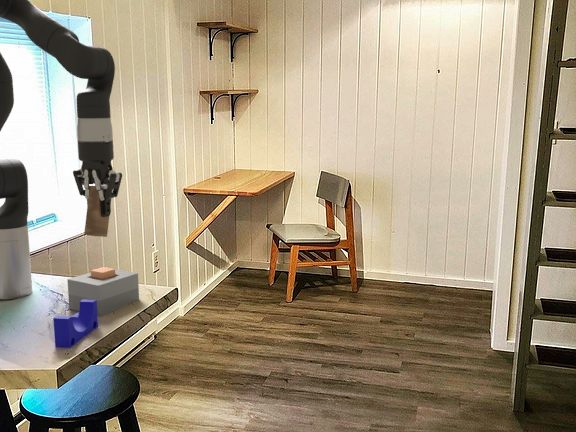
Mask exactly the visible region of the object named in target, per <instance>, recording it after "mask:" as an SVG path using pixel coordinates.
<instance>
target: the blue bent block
mask: <svg viewBox="0 0 576 432" xmlns="http://www.w3.org/2000/svg"><path fill="white" fill-rule="evenodd" d="M98 317H99V316H98V315H97V300H87V299H83V300H81V301H80V309H79V311H78V312H77V313H75V314H73V315H72V316H71V315H70V316H68V315H56V316H54V317H53V331H54V332H53V333H54V335H53V336H54V347H55V348H61V349H62V348H65V349H71V348H72V347H73V346H75V345H76V344H77V343H78V342H80V341H82V340H83V339H84V338H86V336H88V335H89V334H90V333H92V332H93V331H94V330H96V329H97V328H98V327H99V321H98V320H99V319H98Z"/></svg>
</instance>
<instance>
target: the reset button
mask: <svg viewBox="0 0 576 432" xmlns="http://www.w3.org/2000/svg"><path fill="white" fill-rule="evenodd" d="M115 269H116V268H113V269H112V267H106V266H105V267H104V266H103V267H99V268H95V269H91V270H90V273H91V277H94V278H98V280H105V279H109V278H108V277H112V276H115Z"/></svg>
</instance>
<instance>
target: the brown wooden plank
mask: <svg viewBox="0 0 576 432" xmlns="http://www.w3.org/2000/svg"><path fill="white" fill-rule="evenodd" d="M104 194H106V190H105V189H104ZM100 201H102V200H100V196H99V191H98V190H97V189H96V186H91V189H90V193H89V198H88V206H86V207H87V208H86V216H85V225H84V234H83V235H84V236H85V235H86V236H93V237H103V238H104V237H105V238H107V237H108V232H109V231H108V230H109V222H110V216H108V217H102V216H101V208H100ZM111 204H112V199H111V200H110V205H111ZM111 206H112V205H111Z"/></svg>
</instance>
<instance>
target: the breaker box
mask: <svg viewBox="0 0 576 432" xmlns="http://www.w3.org/2000/svg"><path fill="white" fill-rule="evenodd" d="M111 268H112V267H111ZM112 269H115V276H112V277H108V278H109V279H105V280H98V278H94V277H91V272H87V273H84V274H80V275H77V276H74V277H71V278H67V293H68V294H67V295H68V309H69V310H72V311H76V312H77V311H78V312H79V309H80V301H81V300H83V299H87V300H97V315H98V317H102V316H104V315H107V314H108V313H111V312H114V311H115V310H118V309H120V308H122V307H124V306H127V305H130V304H132V303H134V302H137V301H139V300H140V291H139V290H140V289H139V287H140V286H139V273H138V272H135V271H134V272H133V271H127V270H123V269H118V268H112ZM131 302H132V303H131ZM129 303H130V304H129Z"/></svg>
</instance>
